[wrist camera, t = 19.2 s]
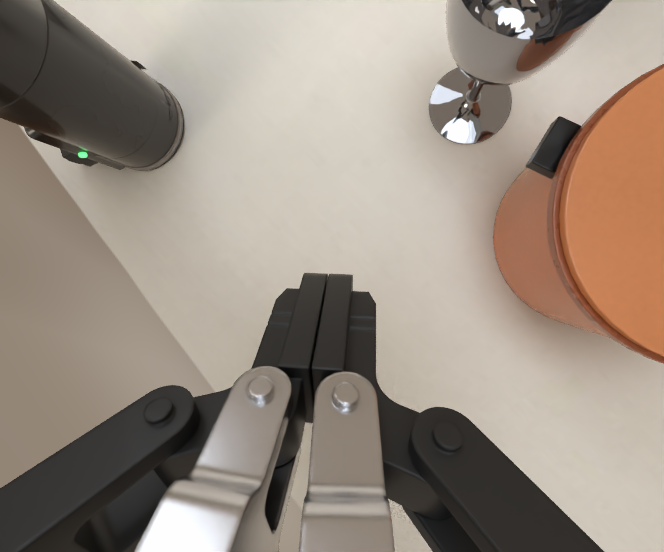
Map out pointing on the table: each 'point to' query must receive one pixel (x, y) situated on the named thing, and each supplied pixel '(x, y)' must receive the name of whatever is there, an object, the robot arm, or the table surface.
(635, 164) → the copper pot
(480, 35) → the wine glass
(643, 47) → the table surface
